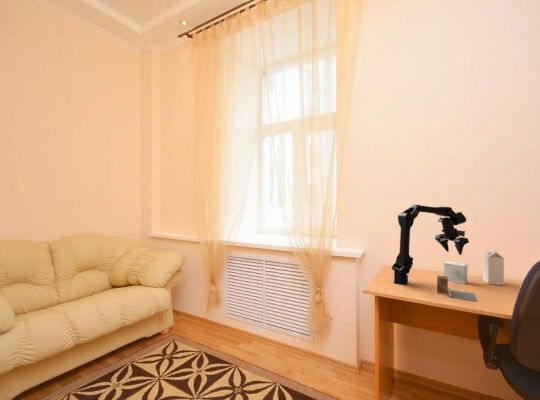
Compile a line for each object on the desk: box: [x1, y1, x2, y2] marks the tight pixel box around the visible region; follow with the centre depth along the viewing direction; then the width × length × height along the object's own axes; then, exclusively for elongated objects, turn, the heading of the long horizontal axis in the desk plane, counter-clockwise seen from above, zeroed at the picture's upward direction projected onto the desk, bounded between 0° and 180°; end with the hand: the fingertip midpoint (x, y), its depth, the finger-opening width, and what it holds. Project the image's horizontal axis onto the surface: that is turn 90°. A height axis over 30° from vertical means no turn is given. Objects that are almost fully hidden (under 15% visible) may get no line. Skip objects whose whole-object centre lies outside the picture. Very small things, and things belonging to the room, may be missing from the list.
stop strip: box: [448, 287, 453, 299], centre depth 139 cm, size 1×12×1 cm, turn 149°
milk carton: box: [482, 248, 505, 286], centre depth 156 cm, size 7×7×19 cm
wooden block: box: [436, 274, 449, 296], centre depth 141 cm, size 4×4×8 cm
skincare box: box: [443, 260, 469, 285], centre depth 160 cm, size 10×6×10 cm, turn 42°
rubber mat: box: [451, 289, 477, 303], centre depth 137 cm, size 9×12×1 cm
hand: (454, 253), depth 163 cm, fingers open, 9 cm apart
